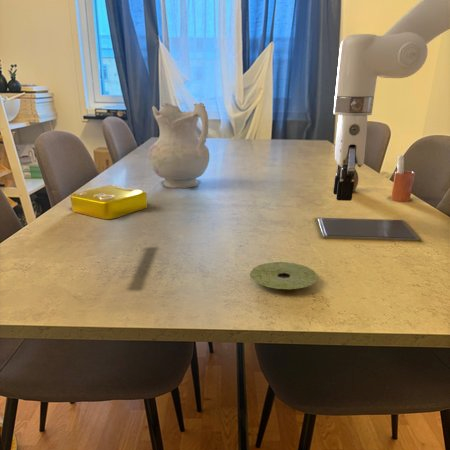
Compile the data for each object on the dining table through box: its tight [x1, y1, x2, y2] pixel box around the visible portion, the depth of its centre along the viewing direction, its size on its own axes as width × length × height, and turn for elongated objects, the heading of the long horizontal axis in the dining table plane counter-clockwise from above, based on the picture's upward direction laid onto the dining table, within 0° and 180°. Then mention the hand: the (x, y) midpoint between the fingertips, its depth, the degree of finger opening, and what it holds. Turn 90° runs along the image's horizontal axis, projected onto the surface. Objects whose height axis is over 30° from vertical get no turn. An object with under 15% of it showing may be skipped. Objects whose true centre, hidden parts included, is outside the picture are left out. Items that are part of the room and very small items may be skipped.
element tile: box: [69, 184, 148, 220], centre depth 114 cm, size 15×15×5 cm
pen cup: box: [390, 170, 416, 203], centre depth 120 cm, size 5×5×8 cm
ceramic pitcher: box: [148, 102, 210, 189], centre depth 136 cm, size 22×20×25 cm
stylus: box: [397, 154, 405, 174], centre depth 119 cm, size 2×2×12 cm
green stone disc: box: [249, 261, 319, 290], centre depth 73 cm, size 11×11×2 cm
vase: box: [353, 168, 359, 192], centre depth 129 cm, size 7×7×9 cm
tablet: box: [317, 217, 421, 242], centre depth 98 cm, size 20×14×1 cm
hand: (342, 196), depth 95 cm, fingers open, 4 cm apart
